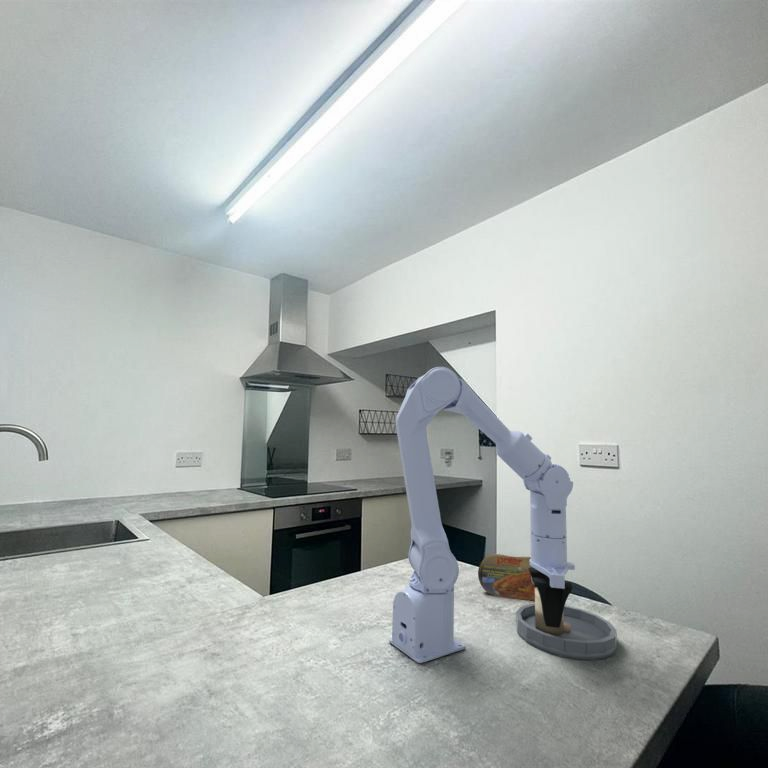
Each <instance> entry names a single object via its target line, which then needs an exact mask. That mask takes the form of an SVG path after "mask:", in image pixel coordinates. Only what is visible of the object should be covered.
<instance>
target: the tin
mask: <svg viewBox="0 0 768 768" xmlns="http://www.w3.org/2000/svg"><path fill="white" fill-rule="evenodd" d="M530 559H531V556H525V555H509V554H501V553H499V554H498V553H493V554H489V555H487V556H486V557H484V558H483V559H482V561H481V562H480V563H479V567H478V571H477V578H478V581H479V583H480V585H481V587H482V588H483V590H484V591H485V592H486V593H487V594H489V595H490V596H493V597H498V598H507V599H514V600H515V599H516V600H524V601H531V602H532V601H534V602H535V585H534V582H533V579H532V576H531V574H530V572H529V570H528V568H530V567H532V566H530Z"/></svg>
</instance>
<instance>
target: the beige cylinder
mask: <svg viewBox="0 0 768 768" xmlns="http://www.w3.org/2000/svg"><path fill="white" fill-rule="evenodd" d="M534 604H535V628H536V629H538V630H540V631H542V632H544V633H547V634H550V635H562V634H563V633H564V614H563V615H562V620H561V624H560V627H559V628H556V627H548V626H546V624H545V621H544V617H543V611H542V604H541V599H540V595H539V592H538V589H537V587H536V588H535V601H534Z"/></svg>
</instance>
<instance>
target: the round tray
mask: <svg viewBox="0 0 768 768" xmlns="http://www.w3.org/2000/svg"><path fill="white" fill-rule="evenodd" d="M563 614H564V633H563V634H562V635H550V634H547V633H544V632H542V631H540V630H538V629H536V628H535V603H529V604H526V605H522V606H520V607H519V608H518V609H517V611H515V623H516V624H515V625H516V632H517V634H518V636H519V637H520V638H521V639H522V640H523V641H524V642H526V643H527V644H529V645H530V646H532V647H533V648H536V649H537V650H540V651H543V652H545V653H546V654H547V653H548V654H551V655H554V656H558V657H561V658H565V659H570V660H571V659H572V660H580V661H600V660H604V659H608V658H611V657H612V656H614V655H615V654H616V652H617V642H618V631H617V629H616V628H615V626H614V625H613V624H612V623H611V622H610V621H609V620H607V619H605V618H603V617H601V616H600V615H598V614H596V613H593V612H590V611H587V610H585V609H582V608H578V607H575V606H570V605H566V604H565V606H564V610H563Z"/></svg>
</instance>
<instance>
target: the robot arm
mask: <svg viewBox="0 0 768 768" xmlns="http://www.w3.org/2000/svg"><path fill="white" fill-rule="evenodd" d="M441 410H443V411H445V412H451V413H457V414H460V415H463V416H464V417H465V419H467V420H468V421H470V423H471V424H473V425H474V426H475V427H476V428H477V429H479V430H480V432H481V433H483V434H484V435H485V436H487V438H489V439H490V440H491V441H492V442H493V443H494V444H495V451H496V452H495V453H496V455H497V456H498V457H499V458H500V460H502V461H503V462H504V463H505V464H506V465H508V467H510V469H511V470H512V471H513V472H514V473H516V474H517V476H519V477H520V478H521V479H522V481H523V485H524V487H525V489H526V490H528V491H529V497H530V498H529V499H530V501H529V505H530V506H529V511H530V513H529V514H530V515H529V517H530V519H529V520H530V521H529V522H530V557H531V559H530V566H532V567H530V568H528V570H529V572H530V574H531V576H532V579H533V582H534V585H535V588H536V587H537V589H538V592H539V595H540V599H541V604H542V611H543V617H544V621H545V624H546V626H548V627H556V628H559V627H560V624H561V620H562V615H563V610H564V606H565V605H566V602H567V599H568V597H569V596H570V594H571V592H573V591H572V590H573V585H572V583H570V582H565V581H566V580H565V579H566V578H565V577H566V574H567V573H568V571H569V570H570V571H571V570H573V571H575V570H576V566H575V564H574V563H573V562H570V561H568V550H567V549H568V548H567V547H568V546H567V541H568V540H567V537H568V536H567V505H568V504H567V500H568V497H569V496H570V494H571V493H572V491H573V487H574V481H571V478H570V476H569V475H570V474H569V472H568V471H567V470H566V469H565V468H564V467H563V466H561V465H559V464H552V461H551V459H552V457H551V456H550V455H549V454H548V453H544V452H543V451H541V449H539V448H538V446H537V445H536V444H534V443H533V442H532V440H533V437H532V436H531V435H530V434H529V433H523V432H522V431H520V430H513V431H512V430H510V429H509V428H508V427H507V426H506V425H505V423H503V421H501V420H500V419H499V417H497V415H496V414H495V413H494V412H493V411H492V410H491V409H490V408H489V406H488V405H486V404H485V403H484V401H483V400H482V399H481V398H480V397H479V396H478V395H477V394H476V393H475V392H474V391H473V389H472V388H471V386H470V385H469V384H468V383H467V382H466V381H465V380H464V379H462V378H460V377H458V375H457V373H455V372H454V371H453V370H452V369H450V368H448V367H446V366H436V367H433V368H431V369H429V370H428V371H427V372H426V373H425V374H423V375H421V376H420V377H419V376H418V378H417V379H415V381H413V383H412V384H411V385H410V386H409V387H408V388H407V390H406V394H405V397H404V398H403V401H402V403H401V405H400V407H399V409H398V413H397V415H396V417H395V430H396V435H397V441H398V447H399V453H400V454H399V455H400V461H401V465H402V466H401V467H402V472H403V473H402V474H403V479H404V480H403V481H404V487H405V492H406V497H407V505H408V511H409V516H410V517H409V518H410V523H411V527H410V533H409V534H410V541H411V543H410V546H409V550H408V562H409V565H410V566H411V568H412V569H413V572H412V575H411V576H410V578H409V582H408V583H409V584H408V585H407V587H406V588H405V589H403V590H401V591H399V592H397V593H396V594H395V596H394V599H393V604H392V622H391V623H392V627H391V629H392V631H391V637H390V638H389V639H388V641H389V643H390V644H392V645H393V647H394V646H395V647H396V648H397V649H398V650H400V651H401V652H402V653H404V654H405V655H407V656H408V657H409V658H411V659H412V660H413V661H414V662H416V663H419V664H423V663H425V662H429V661H431V660H434V659H435V660H436V659H437V658H438V659H439V658H441V657H444V656H447V655H450V654H454V653H456V652H459V651H462V650H465V649H466V644H464V643H463V642H461V641H460V640H458V639H457V638H455V637H454V630H455V626H454V625H455V584H456V582H457V580H458V578H459V574H460V573H459V572H460V570H459V569H460V567H459V563H458V560H457V559H456V557H455V556H454V554H453V553H452V551H451V549H450V545H449V539H448V537H447V534H446V532H445V529H444V527H443V524H442V519H441V511H440V507H439V499H438V494H437V489H436V488H437V487H436V483H435V475H434V469H433V464H432V457H431V453H430V446H429V439H428V434H427V433H428V432H427V426H428V425H429V424H430V423H431V421H432V420H433V419H434V418H435V417H436V415H437V413H439V412H440V411H441Z"/></svg>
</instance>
